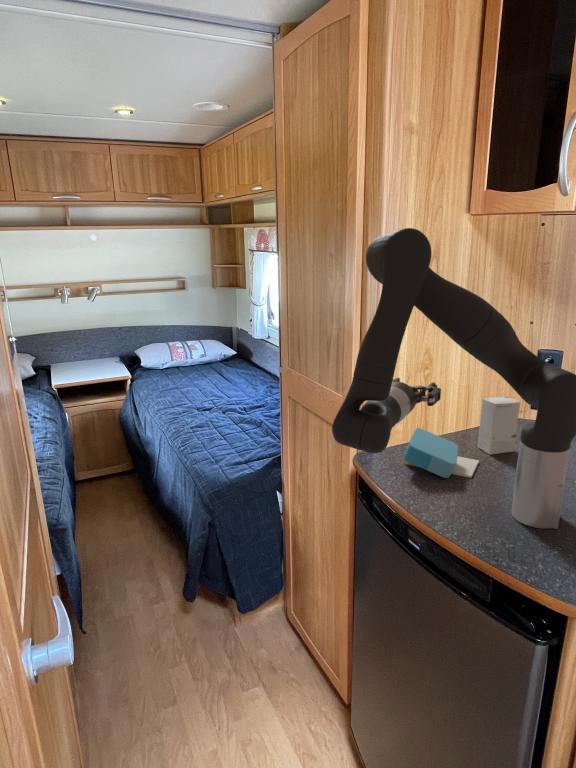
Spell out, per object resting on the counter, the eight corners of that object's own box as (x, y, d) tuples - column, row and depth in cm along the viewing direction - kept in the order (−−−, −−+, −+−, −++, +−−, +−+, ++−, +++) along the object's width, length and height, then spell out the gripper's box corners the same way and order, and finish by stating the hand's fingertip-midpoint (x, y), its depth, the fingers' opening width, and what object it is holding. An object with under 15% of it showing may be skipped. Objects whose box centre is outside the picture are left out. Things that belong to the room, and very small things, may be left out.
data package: (448, 480, 123) (452, 458, 134) (456, 466, 121) (459, 444, 132) (402, 459, 126) (410, 439, 136) (409, 445, 124) (416, 426, 134)
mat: (478, 462, 133) (479, 460, 133) (471, 478, 125) (471, 475, 125) (426, 452, 140) (426, 450, 140) (415, 466, 132) (416, 464, 131)
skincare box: (489, 455, 137) (494, 404, 133) (476, 447, 143) (480, 397, 138) (515, 451, 139) (521, 401, 135) (501, 443, 145) (506, 394, 140)
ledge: (426, 452, 140) (427, 440, 139) (415, 466, 132) (416, 453, 131) (416, 450, 141) (416, 438, 140) (404, 463, 133) (405, 451, 132)
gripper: (427, 391, 99) (447, 372, 113) (361, 382, 107) (387, 365, 120) (425, 426, 102) (445, 403, 115) (360, 415, 109) (386, 394, 122)
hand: (415, 384), depth 117 cm, fingers open, 8 cm apart
